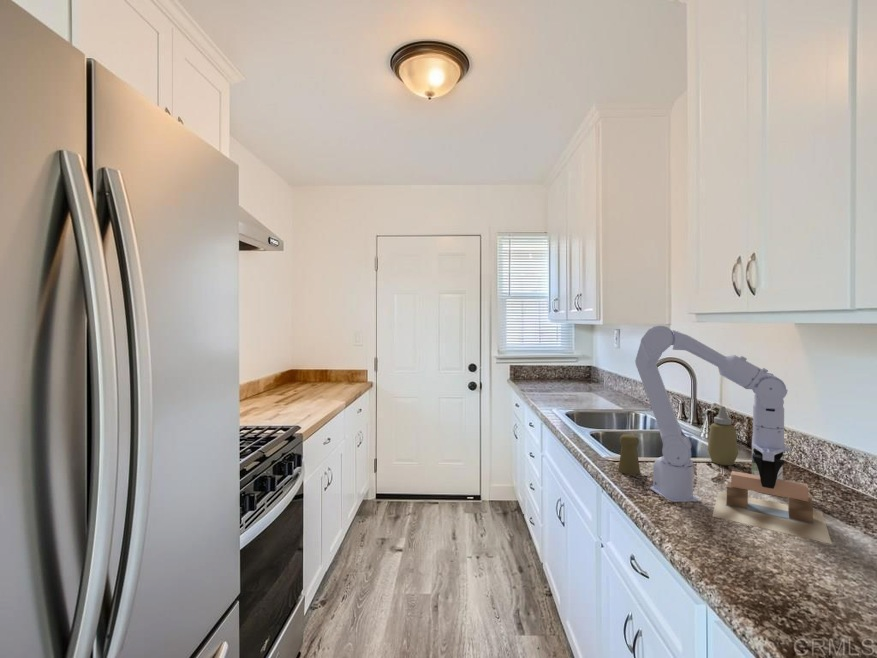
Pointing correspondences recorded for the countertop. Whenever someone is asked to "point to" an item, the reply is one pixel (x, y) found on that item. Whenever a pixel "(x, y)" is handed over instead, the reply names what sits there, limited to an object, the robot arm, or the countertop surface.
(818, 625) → the countertop surface
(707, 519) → the countertop surface
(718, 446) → the squeeze bottle
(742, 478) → the beam
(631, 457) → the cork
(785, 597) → the countertop surface
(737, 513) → the board
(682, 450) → the robot arm
